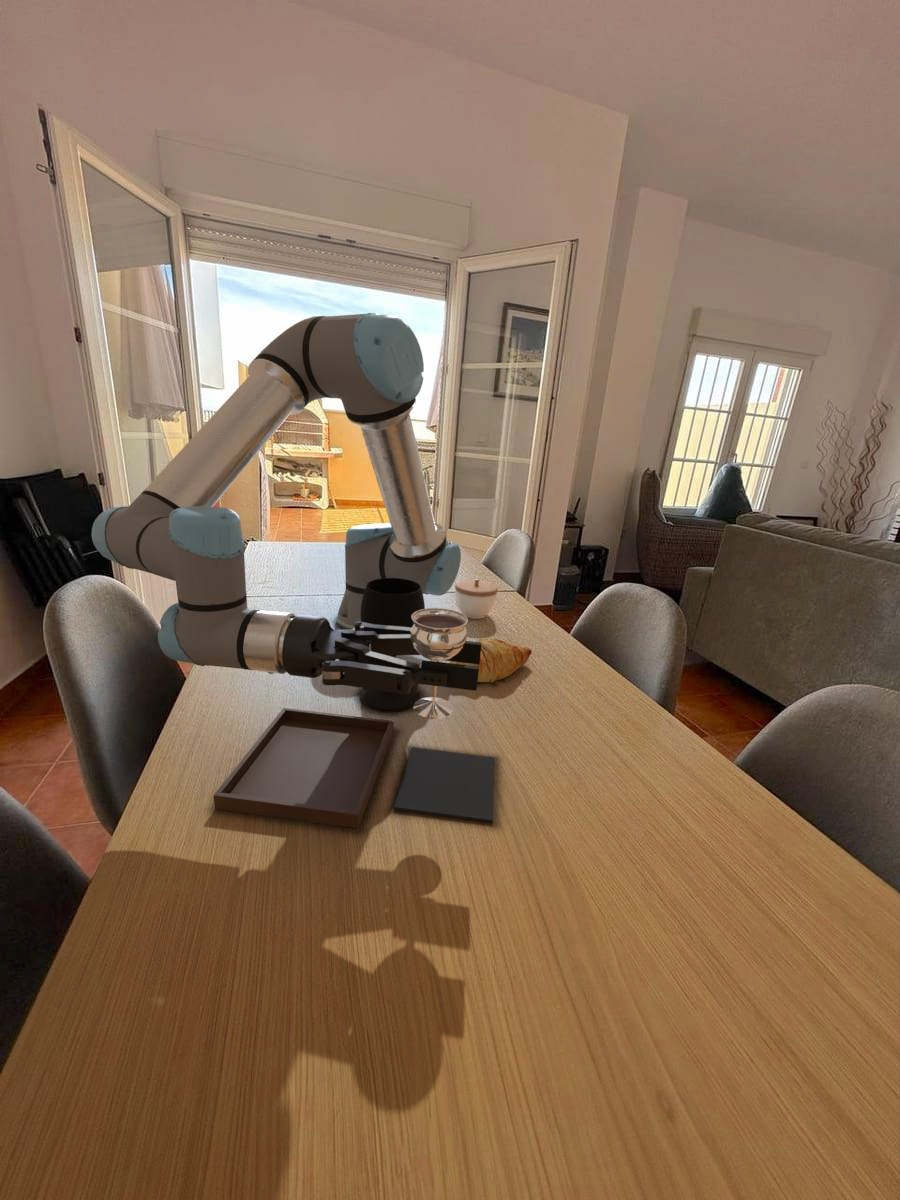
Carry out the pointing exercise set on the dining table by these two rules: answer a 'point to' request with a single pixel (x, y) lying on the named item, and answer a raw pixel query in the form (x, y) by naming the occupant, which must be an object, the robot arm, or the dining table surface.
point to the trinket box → (475, 597)
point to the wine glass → (393, 608)
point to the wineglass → (437, 649)
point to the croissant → (498, 659)
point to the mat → (447, 785)
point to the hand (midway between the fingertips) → (478, 665)
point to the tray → (309, 768)
